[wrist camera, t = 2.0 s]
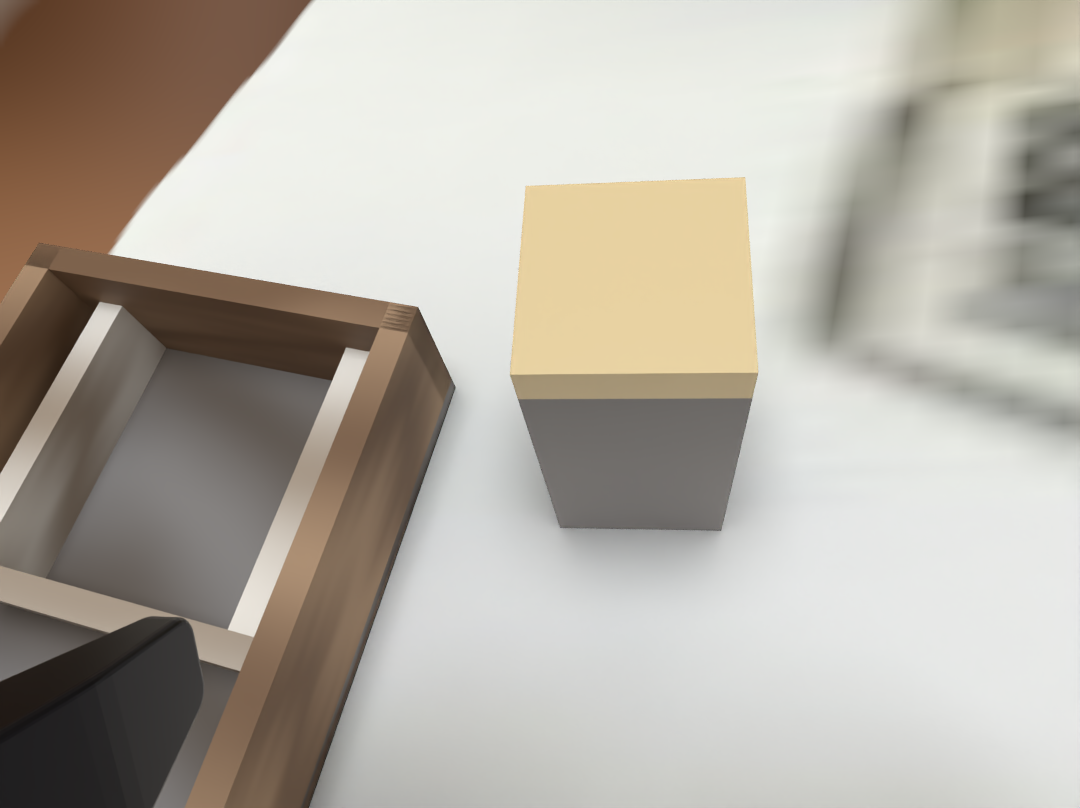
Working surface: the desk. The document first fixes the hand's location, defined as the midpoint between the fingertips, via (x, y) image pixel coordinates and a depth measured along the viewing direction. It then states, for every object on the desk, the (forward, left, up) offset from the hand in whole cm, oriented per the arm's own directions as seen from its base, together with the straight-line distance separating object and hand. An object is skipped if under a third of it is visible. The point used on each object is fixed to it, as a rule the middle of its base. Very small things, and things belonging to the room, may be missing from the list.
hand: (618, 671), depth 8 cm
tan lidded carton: (+8, +2, -13) cm, 16 cm away
